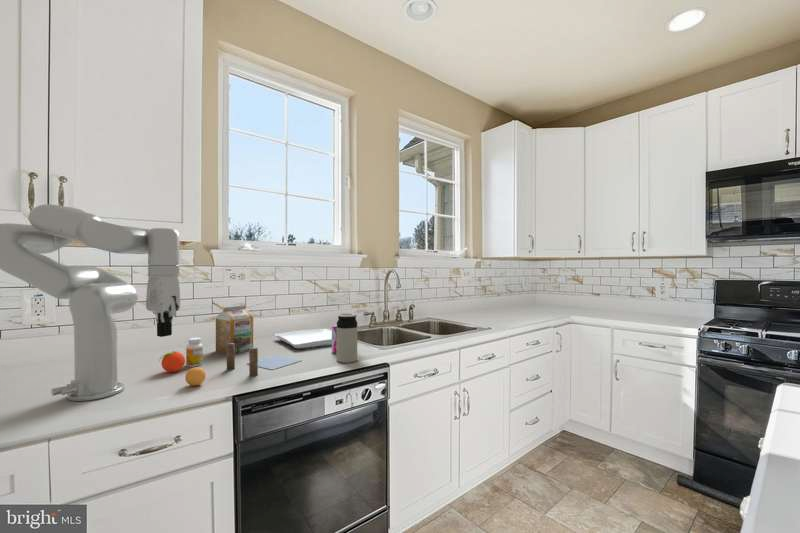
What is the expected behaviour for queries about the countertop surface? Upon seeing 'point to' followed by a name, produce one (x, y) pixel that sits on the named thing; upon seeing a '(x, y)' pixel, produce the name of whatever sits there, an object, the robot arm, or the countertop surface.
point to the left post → (230, 356)
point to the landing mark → (276, 362)
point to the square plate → (307, 338)
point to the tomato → (172, 361)
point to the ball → (195, 376)
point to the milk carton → (234, 329)
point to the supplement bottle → (194, 352)
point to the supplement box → (334, 339)
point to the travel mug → (346, 337)
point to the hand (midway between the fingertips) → (164, 335)
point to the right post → (253, 361)
